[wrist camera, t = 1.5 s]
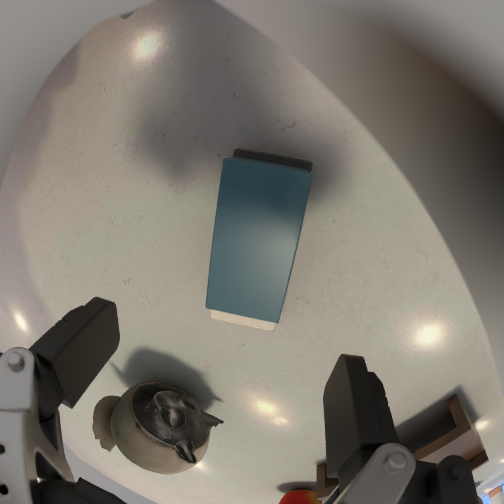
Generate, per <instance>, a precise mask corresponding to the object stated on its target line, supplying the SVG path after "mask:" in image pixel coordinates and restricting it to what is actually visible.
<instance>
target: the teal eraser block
mask: <svg viewBox="0 0 504 504" xmlns="http://www.w3.org/2000/svg"><path fill="white" fill-rule="evenodd" d="M312 165H313V164H312V162H309V161H304V160H299V159H294V158H289V157H284V156H278V155H273V154H267V153H261V152H255V151H249V150H243V149H235V150H234V156H233V158H226V159H224V160H223V166H222V173H221V180H220V187H219V194H218V202H217V209H216V217H215V225H214V233H213V241H212V250H211V258H210V268H209V277H208V287H207V297H206V308H208V309H211V314H210V317H211V318H213V319H217V320H222V321H226V322H231V323H235V324H240V325H244V326H249V327H254V328H259V329H264V330H269V331H274V328H275V325H276V323H278V322H279V319H280V315H281V311H282V307H283V303H284V299H285V296H286V292H287V287H288V283H289V279H290V275H291V271H292V267H293V263H294V259H295V254H296V250H297V246H298V241H299V237H300V232H301V228H302V223H303V219H304V214H305V210H306V205H307V200H308V195H309V191H310V186H311V181H312V174H311V170H312Z"/></svg>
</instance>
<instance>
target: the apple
mask: <svg viewBox="0 0 504 504" xmlns="http://www.w3.org/2000/svg"><path fill="white" fill-rule="evenodd" d="M279 504H322V500H318V499H316V493H315V492H313V491H311V490H292V491H290V492H288V493H287V494H286V495H284V497H283V498H282V499H281V500H280V502H279Z"/></svg>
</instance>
